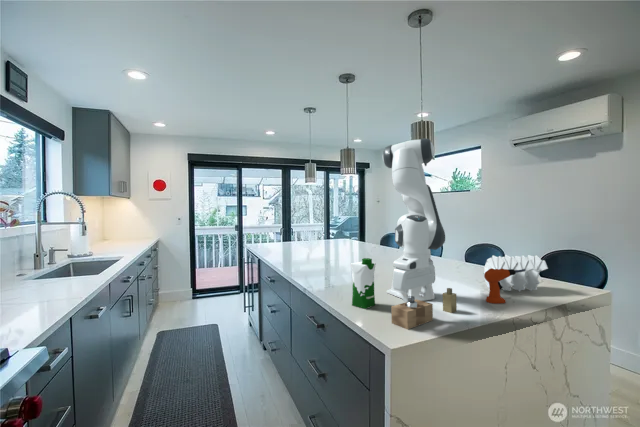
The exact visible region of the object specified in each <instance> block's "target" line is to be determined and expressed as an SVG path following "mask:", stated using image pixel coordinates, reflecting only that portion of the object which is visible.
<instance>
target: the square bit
mask: <svg viewBox="0 0 640 427" xmlns="http://www.w3.org/2000/svg"><path fill="white" fill-rule="evenodd" d="M457 309H458V308H457V293H454V292H453V288H451V287H447V288H446V292H443V293H442V311H443V312H446V313H449V314H453V313H456V312H457Z"/></svg>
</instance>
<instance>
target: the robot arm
mask: <svg viewBox="0 0 640 427" xmlns="http://www.w3.org/2000/svg"><path fill="white" fill-rule="evenodd" d="M434 154H435V147H434V144H433V142H432V140H431V139H429V138H425V137H423V138H420V139H411V140H406V141H403V142H399V143H395V144H390V145H387V146H386V147H385V148H384V149H383V151H382V161H383V163H384V166H385V167H387V168H388V169H391V178H392V185H393V187H394V189H395V190H396V191H397V192H398V193H400V194H401V195H402V202H403V203H404V205H405V206H406V209H407V212H408V213H405V214H403V215H402V216H400V217H398V220H397V222H396V227H395V229H394V242H395V244H396V245H398V246H399V248H403V250H402V254H401V255H400V256H399V257H398V258H397V259H395V260H394V261H393V263H392V264H393V265H392V266H393V267H394V269H393V271H392V272H393V273H392V281H391V287H390V288H388V289H386V293H387V294H389V295H392V296H395V297H396V298H399V299H402V301H403V303H405V302H409V301H410V297H409V296H414V298H415V300H416V299H417V300H420V301H424V302H426V301H431V300H434V299H435V298H436V296H435V293H434V289H433V284H435V281H436V269H435V265H434V261H433V260H432V258H431V256H432V255H431V252H432V251H431V250H435V251H436V250H438V249H440V248H441V247H442V246H443V245H444V244H445V243H446V233H445V229H444V227H443V224H442V222H441V219H440V216H439V212H438V208H437V205H436V200H435V197H434V194H433V191H432V188H431V186H430V185H428V184H427V180H426V174H425V170H424V167H427V164H429V163H430V162H431V161H432V160H433V159H434ZM423 164H424V167H423Z"/></svg>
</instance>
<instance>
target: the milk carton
mask: <svg viewBox="0 0 640 427" xmlns="http://www.w3.org/2000/svg"><path fill="white" fill-rule="evenodd" d="M350 267H351V274H352V277H351V278H352V280H351V281H352V296H351V297H352V301H351V306H353V307H356V308H359V309H363V310H366V309H369V308H371V307H375V306H376V300H375V299H376V298H375V296H376V295H375V271H376V269H375V268H376V262H373V259H372V258H370V257H365V258H362V259H361V261H356V262H352V263H350Z"/></svg>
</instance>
